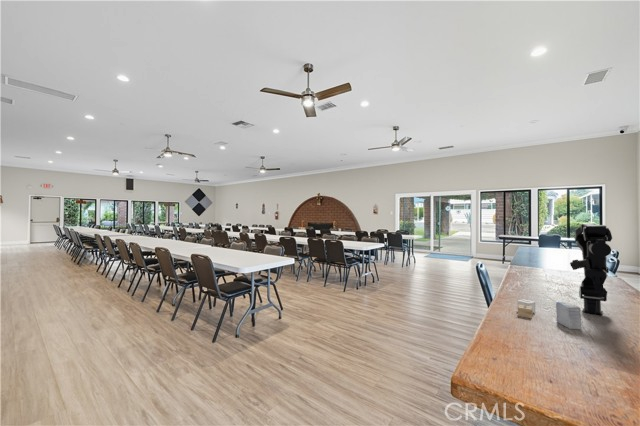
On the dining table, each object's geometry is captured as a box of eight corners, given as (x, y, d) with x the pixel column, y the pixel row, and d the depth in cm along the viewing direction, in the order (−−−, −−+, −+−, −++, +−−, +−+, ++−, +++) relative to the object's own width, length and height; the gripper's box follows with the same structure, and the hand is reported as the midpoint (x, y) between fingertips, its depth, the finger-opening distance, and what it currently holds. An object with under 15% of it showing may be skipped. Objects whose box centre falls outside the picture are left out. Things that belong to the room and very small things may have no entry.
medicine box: (582, 330, 109) (581, 307, 109) (568, 329, 110) (568, 307, 110) (568, 322, 117) (567, 302, 117) (556, 322, 118) (555, 301, 118)
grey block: (523, 309, 135) (523, 299, 135) (535, 312, 130) (535, 301, 130) (517, 311, 132) (517, 300, 133) (529, 314, 128) (529, 303, 128)
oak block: (519, 313, 129) (519, 304, 130) (532, 315, 126) (532, 306, 126) (518, 316, 126) (517, 307, 126) (531, 318, 122) (531, 309, 123)
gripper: (574, 251, 131) (575, 284, 130) (568, 254, 118) (569, 291, 118) (608, 253, 122) (609, 288, 122) (605, 256, 110) (607, 296, 109)
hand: (597, 291), depth 118 cm, fingers closed
